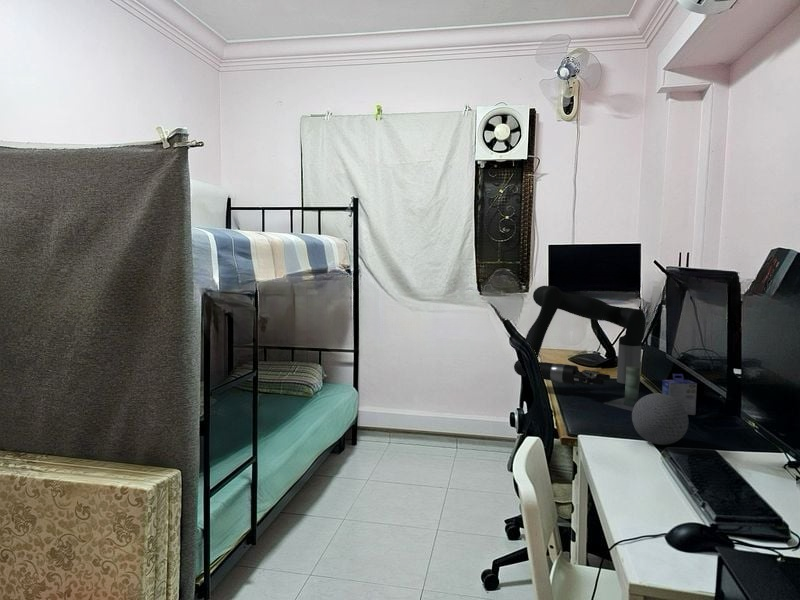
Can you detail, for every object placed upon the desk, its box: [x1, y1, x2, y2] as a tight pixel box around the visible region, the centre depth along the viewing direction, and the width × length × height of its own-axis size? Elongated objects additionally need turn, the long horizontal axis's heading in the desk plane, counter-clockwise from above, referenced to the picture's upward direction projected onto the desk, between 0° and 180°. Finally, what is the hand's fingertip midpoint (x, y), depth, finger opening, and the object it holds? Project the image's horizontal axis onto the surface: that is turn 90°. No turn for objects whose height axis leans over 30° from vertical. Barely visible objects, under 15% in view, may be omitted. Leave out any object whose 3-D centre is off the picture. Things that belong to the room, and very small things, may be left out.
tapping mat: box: [603, 396, 634, 412], centre depth 185 cm, size 14×14×1 cm
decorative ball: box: [631, 392, 690, 446], centre depth 149 cm, size 15×15×15 cm
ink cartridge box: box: [661, 373, 698, 416], centre depth 176 cm, size 10×6×14 cm, turn 89°
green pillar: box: [624, 366, 641, 407], centre depth 185 cm, size 5×5×14 cm
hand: (606, 379), depth 190 cm, fingers open, 8 cm apart
